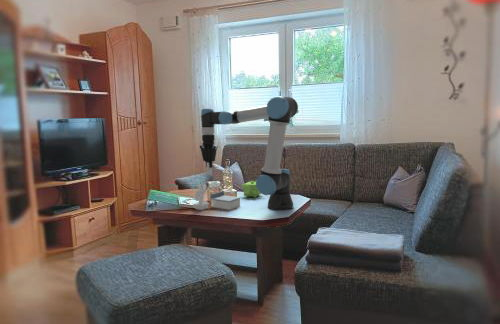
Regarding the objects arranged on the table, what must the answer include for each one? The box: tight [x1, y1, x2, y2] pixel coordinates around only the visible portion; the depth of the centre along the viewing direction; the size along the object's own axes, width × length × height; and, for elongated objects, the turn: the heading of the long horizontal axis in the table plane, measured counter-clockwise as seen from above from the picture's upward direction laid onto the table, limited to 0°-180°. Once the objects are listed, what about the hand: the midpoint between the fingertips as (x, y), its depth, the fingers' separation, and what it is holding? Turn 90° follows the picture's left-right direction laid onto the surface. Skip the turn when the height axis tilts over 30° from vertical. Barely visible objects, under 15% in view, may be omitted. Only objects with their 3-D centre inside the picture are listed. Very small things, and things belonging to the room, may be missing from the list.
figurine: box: [192, 184, 210, 211], centre depth 215 cm, size 7×9×15 cm
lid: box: [209, 190, 242, 202], centre depth 219 cm, size 14×11×3 cm
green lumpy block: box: [241, 180, 261, 198], centre depth 249 cm, size 15×13×11 cm
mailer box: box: [210, 198, 241, 210], centre depth 219 cm, size 14×10×5 cm
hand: (209, 172), depth 224 cm, fingers closed
